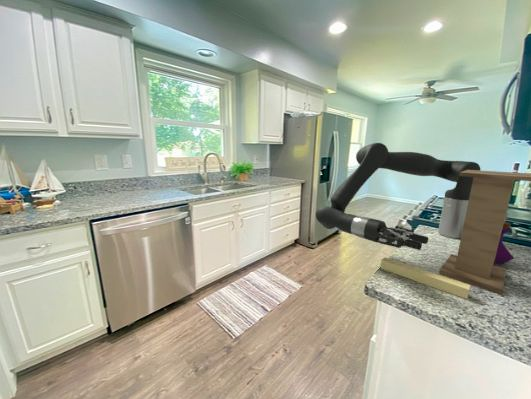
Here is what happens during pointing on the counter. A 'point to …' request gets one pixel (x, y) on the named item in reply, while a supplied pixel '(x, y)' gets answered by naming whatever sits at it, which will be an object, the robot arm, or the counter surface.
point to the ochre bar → (426, 277)
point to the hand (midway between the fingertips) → (424, 243)
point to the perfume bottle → (502, 252)
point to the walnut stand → (483, 230)
